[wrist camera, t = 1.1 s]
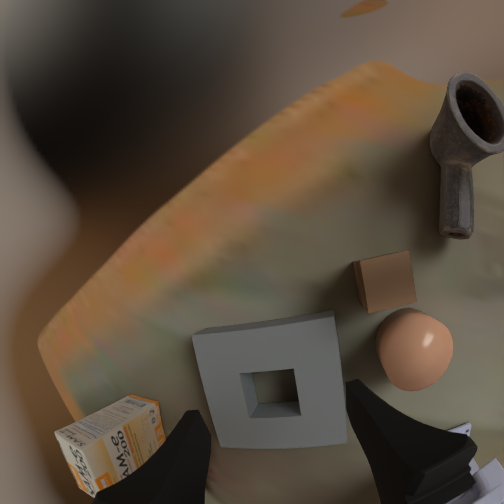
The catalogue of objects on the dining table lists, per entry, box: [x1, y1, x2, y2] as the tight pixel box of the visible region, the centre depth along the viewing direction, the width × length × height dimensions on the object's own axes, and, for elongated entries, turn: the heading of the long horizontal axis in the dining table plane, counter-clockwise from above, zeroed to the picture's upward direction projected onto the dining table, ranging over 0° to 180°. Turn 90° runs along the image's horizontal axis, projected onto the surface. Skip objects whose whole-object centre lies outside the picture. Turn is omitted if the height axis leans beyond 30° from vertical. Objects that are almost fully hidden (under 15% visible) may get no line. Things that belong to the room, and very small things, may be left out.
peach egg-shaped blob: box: [375, 308, 453, 391], centre depth 18 cm, size 6×6×5 cm
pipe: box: [430, 72, 504, 239], centre depth 16 cm, size 6×13×8 cm, turn 169°
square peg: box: [353, 250, 417, 313], centre depth 19 cm, size 3×3×6 cm
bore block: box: [191, 310, 347, 449], centre depth 22 cm, size 12×12×3 cm
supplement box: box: [55, 394, 166, 498], centre depth 21 cm, size 8×5×13 cm, turn 3°
